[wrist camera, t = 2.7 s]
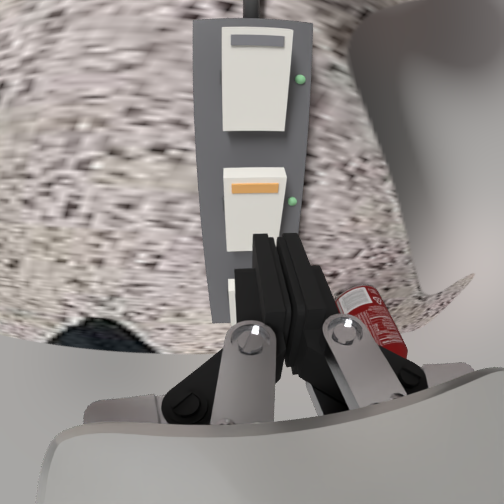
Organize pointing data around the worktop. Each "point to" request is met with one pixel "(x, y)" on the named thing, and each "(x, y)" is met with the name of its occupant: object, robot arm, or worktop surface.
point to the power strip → (244, 143)
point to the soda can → (372, 316)
